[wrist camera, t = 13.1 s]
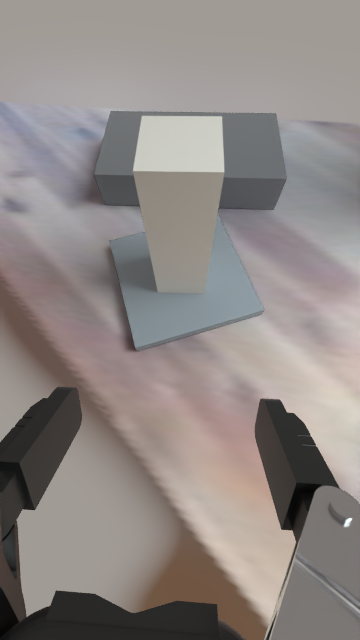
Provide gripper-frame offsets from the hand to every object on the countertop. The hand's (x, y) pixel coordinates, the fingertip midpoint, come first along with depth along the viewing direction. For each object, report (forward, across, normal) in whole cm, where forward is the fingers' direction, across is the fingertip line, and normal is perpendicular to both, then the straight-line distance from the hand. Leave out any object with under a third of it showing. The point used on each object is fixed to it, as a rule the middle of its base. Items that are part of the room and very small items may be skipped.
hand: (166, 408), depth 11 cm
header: (+24, 0, -12) cm, 27 cm away
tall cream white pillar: (+13, 0, -3) cm, 14 cm away
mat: (+14, 0, -3) cm, 14 cm away
